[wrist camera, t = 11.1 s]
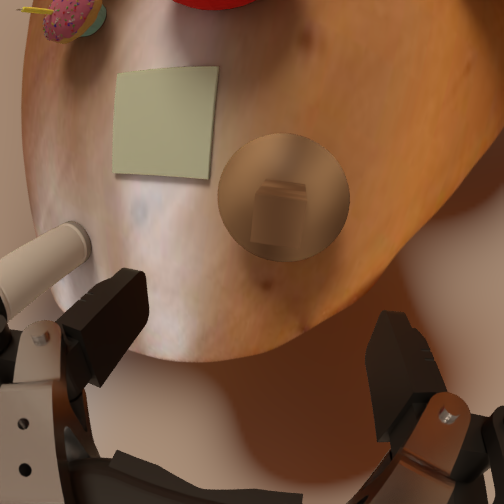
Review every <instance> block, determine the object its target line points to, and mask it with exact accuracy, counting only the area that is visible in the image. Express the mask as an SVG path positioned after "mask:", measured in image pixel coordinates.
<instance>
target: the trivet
mask: <svg viewBox="0 0 504 504" xmlns="http://www.w3.org/2000/svg"><path fill="white" fill-rule="evenodd" d="M218 73H219V67H218V66H195V67H174V68H160V69H149V70H140V71H132V72H125V73H118V74H117V81H116V91H115V103H114V118H113V142H112V173H122V174H142V175H159V176H173V177H186V178H198V179H210V165H211V151H212V138H213V125H214V114H215V103H216V93H217V83H218Z"/></svg>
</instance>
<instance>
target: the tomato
mask: <svg viewBox="0 0 504 504" xmlns="http://www.w3.org/2000/svg"><path fill="white" fill-rule="evenodd" d="M173 1H174V2H177V3H180V4H183V5H186V6H188V7H191V8H196V9H201V10H223V9H232V8H236V7H240V6H244V5H246V4H249V3H251V2H254V1H255V0H173Z"/></svg>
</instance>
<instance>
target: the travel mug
mask: <svg viewBox="0 0 504 504" xmlns="http://www.w3.org/2000/svg"><path fill="white" fill-rule="evenodd" d="M90 253H91V243H90V239H89V236H88V234H87V232H86V231H85V229H84V228H83V227H82V226H81V225H80V224H78V223H76V222H73V221H68V222H66V223H64V224H62V225H60V226H58V227H56V228H54V229H52V230H50V231H48V232H47V233H45V234H43V235H41V236H39V237H37V238H36V239H34V240H32V241H30V242H29V243H27V244H25V245H23V246H22V247H20V248H18V249H17V250H15V251H13V252H11V253H10V254H8V255H6V256H5V257H3V258H1V259H0V315H2V316H4V317H5V319H6V322H7V323H8V322H9V320H11V319H12V318H14V317H15V316H16V315H17V314H18V313H20V312H21V311H22V310H23V309H24V308H25V307H27V306H28V305H29V304H30V303H31V302H33V301H34V300H35V299H36V298H38V297H39V296H40V295H41V294H43V293H44V292H45V291H47V290H48V289H49V288H50V287H52V286H53V285H54V284H56V283H57V282H58V281H59V280H61V279H62V278H63V277H65V276H66V275H67V274H69V273H70V272H71V271H73V270H74V269H75V268H77V267H78V266H79V265H81V264H82V263H84V262H85V261H86V260H87V259H88V258H89V256H90Z"/></svg>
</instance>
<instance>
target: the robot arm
mask: <svg viewBox="0 0 504 504" xmlns="http://www.w3.org/2000/svg"><path fill="white" fill-rule="evenodd" d="M148 317H149V303H148V293H147V283H146V276H145V273H144V272H143V271H138V270H133V269H128V268H122V269H121V270H119V271H118V272H117V273H116V274H115V275H114V276H113V277H111V278H109V279H107V280H104V281H102V282H100V283H98V284H96V285H95V286H94V287H93V288H92V289H90V290H89V291H88V294H85V295H84V296H83V297H81V300H78V301H77V302H76V303H75V304H74V305H73V306H72V307H70V308H69V309H68V310H67V311H66V312H65V313H64V314H63V315H62V316H61V317H60V318H59V319H58V320H57V321H55V322H53V321H49V320H42V321H37V322H35V323H32V324H31V325H29V326H28V327H26V328H25V329H24V331H18V330H11V329H9V327H8V324H7V322H6V319H5V317H4V316H2V315H0V504H302V498H303V494H298V493H286V492H275V491H267V490H260V489H237V490H207V489H201V488H198V487H196V486H194V485H192V484H190V483H188V482H186V481H184V480H183V479H181V478H179V477H177V476H175V475H173V474H172V473H170V472H168V471H167V470H165V469H163V468H162V467H160V466H158V465H156V464H153V463H150V462H147V461H144V460H142V459H139V458H136V457H134V456H131V455H129V454H126V453H124V452H121V451H119V450H117V451H116V452H115V454H114V456H113V458H112V459H111V458H100V455H99V452H98V450H97V448H96V446H95V443H94V440H93V436H92V430H91V425H90V418H89V412H88V405H87V397H86V392H85V389H84V387H85V386H86V385H87V383H90V384H92V385H95V386H97V387H99V388H101V386H102V385H103V384H104V382H105V381H106V379H107V378H108V376H109V375H110V374H111V372H112V371H113V369H114V368H115V367H116V365H117V364H118V362H119V361H120V360H121V358H122V357H123V355H124V354H125V353H126V351H127V350H128V348H129V347H130V346H131V344H132V343H133V342H134V340H135V339H136V337H137V336H138V335H139V333H140V332H141V331H142V329H143V328H144V327H145V325H146V323H147V321H148ZM365 365H366V370H367V376H368V382H369V387H370V394H371V400H372V407H373V414H374V420H375V429H376V436H377V442H390V445H391V449H390V450H389V451H388V452H387V454H386V455H385V456H384V458H383V459H382V461H381V462H380V464H379V465H378V466H377V468H376V469H375V470H374V472H373V473H372V474H371V476H370V477H369V478H368V479H367V481H366V482H365V483H364V484H363V486H362V487H361V488H360V489H359V491H358V492H357V493H356V494H355V495H354V496H353V497H352V498H351V499H350V500H349V501H348V502H347V503H346V504H488V500H487V493H486V486H485V481H484V475H483V473H484V472H485V471H487V470H488V469H489V468H490V467H491V472H492V476H493V482H494V487H495V499H494V502H493V504H504V406H500V407H498V408H497V409H496V410H495V411H494V412H493V413H492V415H491V416H490V417H485V416H481V415H476V414H471V413H470V410H469V408H468V405H467V404H466V403H465V402H464V400H462V399H461V398H460V397H459V396H457V395H455V394H452V393H449V392H447V389H446V386H445V384H444V381H443V379H442V376H441V374H440V371H439V369H438V366H437V364H436V362H435V361H434V357H433V355H432V352H430V348H429V346H428V343H427V341H426V339H425V338H424V337H423V336H422V334H421V333H420V332H419V331H418V330H417V329H416V328H412V327H411V325H410V323H409V321H408V318H407V316H406V314H405V313H404V312H396V311H387V310H384V311H382V312H381V314H380V316H379V318H378V321H377V323H376V326H375V328H374V332H373V334H372V336H371V339H370V341H369V343H368V346H367V349H366V355H365Z"/></svg>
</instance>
